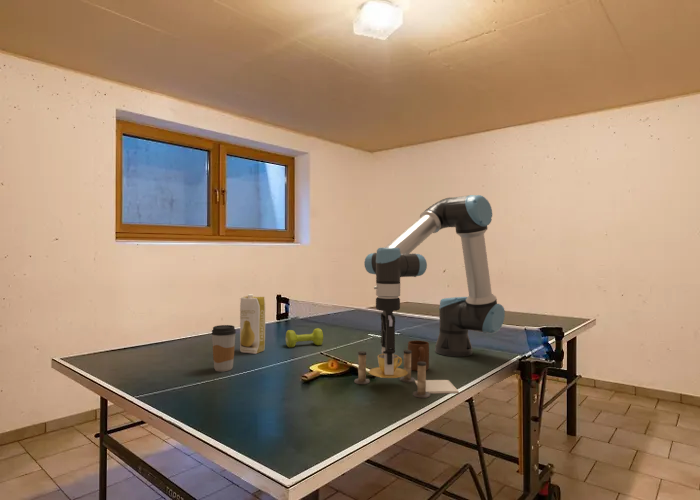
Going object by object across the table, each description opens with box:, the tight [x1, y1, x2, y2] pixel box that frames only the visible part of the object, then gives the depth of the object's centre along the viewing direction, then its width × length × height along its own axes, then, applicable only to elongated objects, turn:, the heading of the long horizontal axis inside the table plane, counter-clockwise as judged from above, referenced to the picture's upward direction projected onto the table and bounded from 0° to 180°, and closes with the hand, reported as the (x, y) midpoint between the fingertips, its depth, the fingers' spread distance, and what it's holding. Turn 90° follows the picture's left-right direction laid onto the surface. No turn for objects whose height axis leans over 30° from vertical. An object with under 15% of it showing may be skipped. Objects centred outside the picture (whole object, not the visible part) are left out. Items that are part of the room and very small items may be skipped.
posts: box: [354, 349, 431, 399], centre depth 132 cm, size 22×20×10 cm
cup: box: [368, 353, 408, 379], centre depth 133 cm, size 12×12×5 cm
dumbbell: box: [285, 327, 324, 349], centre depth 190 cm, size 16×8×7 cm, turn 111°
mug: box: [407, 340, 430, 372], centre depth 152 cm, size 12×8×9 cm, turn 1°
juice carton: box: [239, 293, 266, 355], centre depth 178 cm, size 9×8×24 cm
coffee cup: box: [211, 324, 237, 373], centre depth 151 cm, size 8×8×15 cm
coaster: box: [414, 379, 459, 394], centre depth 133 cm, size 11×11×1 cm
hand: (387, 371), depth 133 cm, fingers closed on cup, 6 cm apart
